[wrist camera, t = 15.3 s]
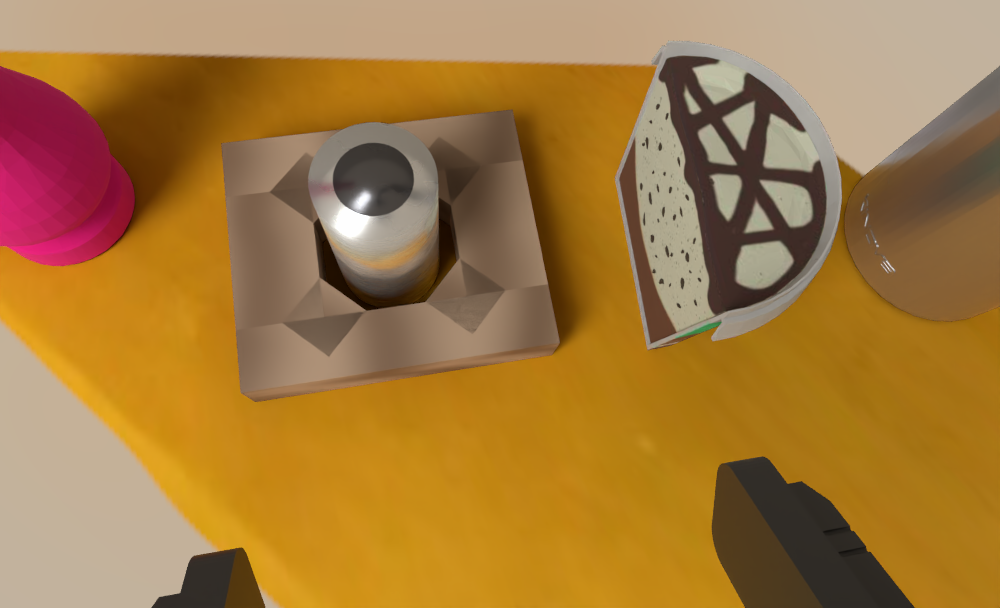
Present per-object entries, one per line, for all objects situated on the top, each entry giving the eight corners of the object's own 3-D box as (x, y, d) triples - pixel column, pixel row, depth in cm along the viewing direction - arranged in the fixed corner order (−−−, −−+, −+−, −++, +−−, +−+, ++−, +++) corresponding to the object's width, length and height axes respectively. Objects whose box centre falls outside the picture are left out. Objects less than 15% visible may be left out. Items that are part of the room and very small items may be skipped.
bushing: (431, 211, 36) (428, 115, 28) (446, 300, 35) (446, 229, 26) (336, 223, 36) (301, 129, 27) (347, 314, 34) (314, 246, 26)
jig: (508, 135, 38) (512, 109, 35) (552, 354, 34) (560, 342, 32) (236, 167, 36) (221, 143, 34) (255, 401, 33) (240, 392, 30)
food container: (773, 366, 35) (896, 309, 26) (653, 380, 35) (733, 327, 25) (720, 143, 39) (811, 20, 29) (609, 152, 38) (665, 29, 28)
